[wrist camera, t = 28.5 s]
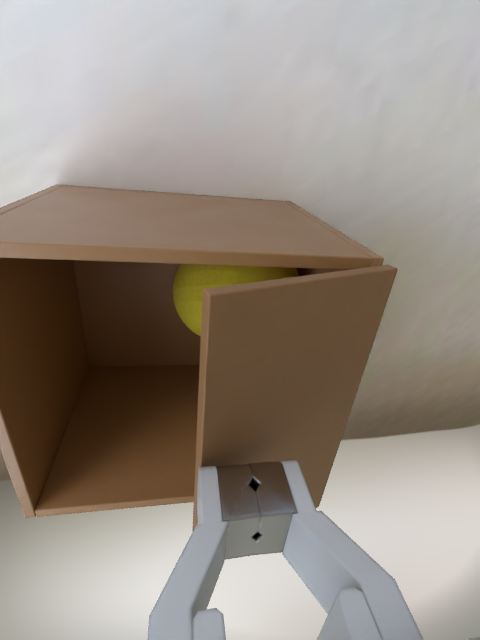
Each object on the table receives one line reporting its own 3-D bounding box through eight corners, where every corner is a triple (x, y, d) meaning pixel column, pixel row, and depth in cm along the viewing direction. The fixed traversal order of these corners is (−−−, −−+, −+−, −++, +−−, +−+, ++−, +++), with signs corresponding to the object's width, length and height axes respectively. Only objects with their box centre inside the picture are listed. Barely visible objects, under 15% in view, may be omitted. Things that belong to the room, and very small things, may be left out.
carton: (55, 184, 17) (-76, 238, 8) (291, 201, 20) (385, 258, 11) (84, 368, 23) (24, 518, 14) (265, 364, 25) (313, 491, 16)
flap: (201, 288, 7) (209, 295, 7) (387, 263, 10) (398, 268, 10) (190, 566, 13) (194, 577, 13) (313, 499, 16) (319, 506, 16)
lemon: (139, 335, 18) (244, 344, 12) (152, 235, 18) (260, 199, 13) (217, 345, 22) (325, 355, 16) (226, 262, 22) (334, 243, 17)
